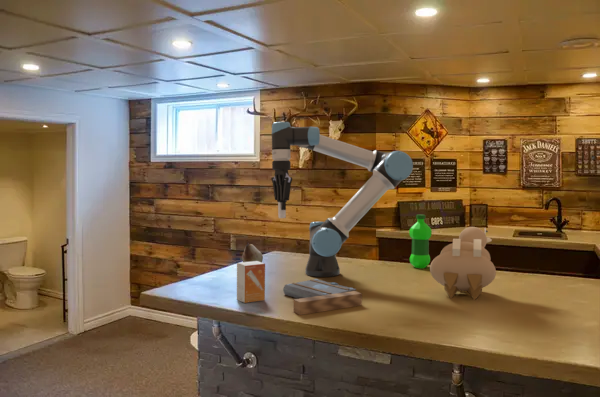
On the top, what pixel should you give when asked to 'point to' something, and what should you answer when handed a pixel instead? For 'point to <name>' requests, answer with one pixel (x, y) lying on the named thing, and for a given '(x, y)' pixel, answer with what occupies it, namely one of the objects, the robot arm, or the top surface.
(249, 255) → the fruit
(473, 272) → the walrus toy
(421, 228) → the plastic bottle
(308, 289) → the book
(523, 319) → the top surface
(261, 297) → the small box
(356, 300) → the rail
